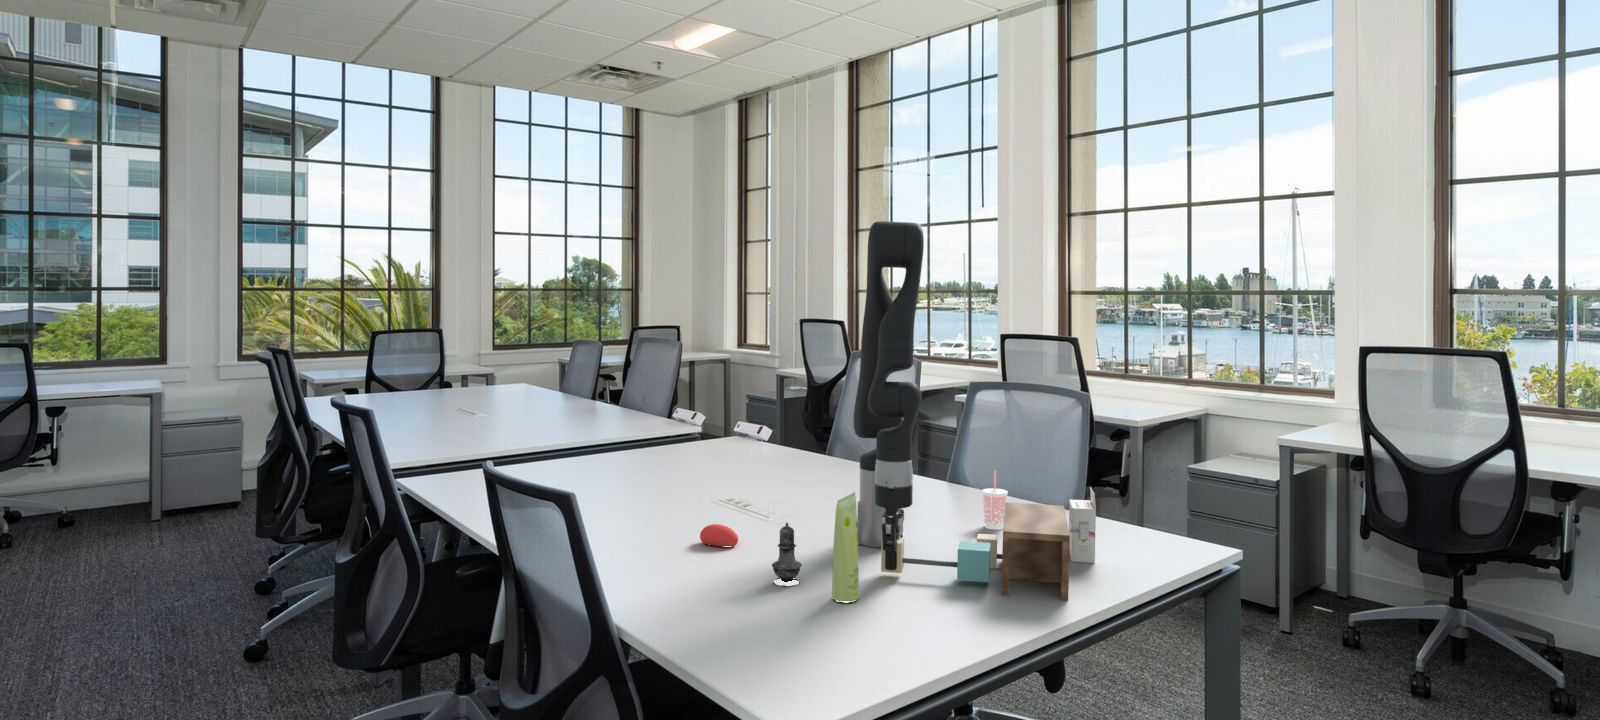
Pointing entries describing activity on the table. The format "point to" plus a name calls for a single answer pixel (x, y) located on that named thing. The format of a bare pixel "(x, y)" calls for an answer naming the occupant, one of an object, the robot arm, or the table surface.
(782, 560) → the salt shaker
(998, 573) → the table surface
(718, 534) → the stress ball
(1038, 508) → the walnut shelf
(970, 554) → the teal and cream dumbbell
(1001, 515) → the beverage cup
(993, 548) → the beige cube-topped post
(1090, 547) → the ink cartridge box
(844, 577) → the tube
